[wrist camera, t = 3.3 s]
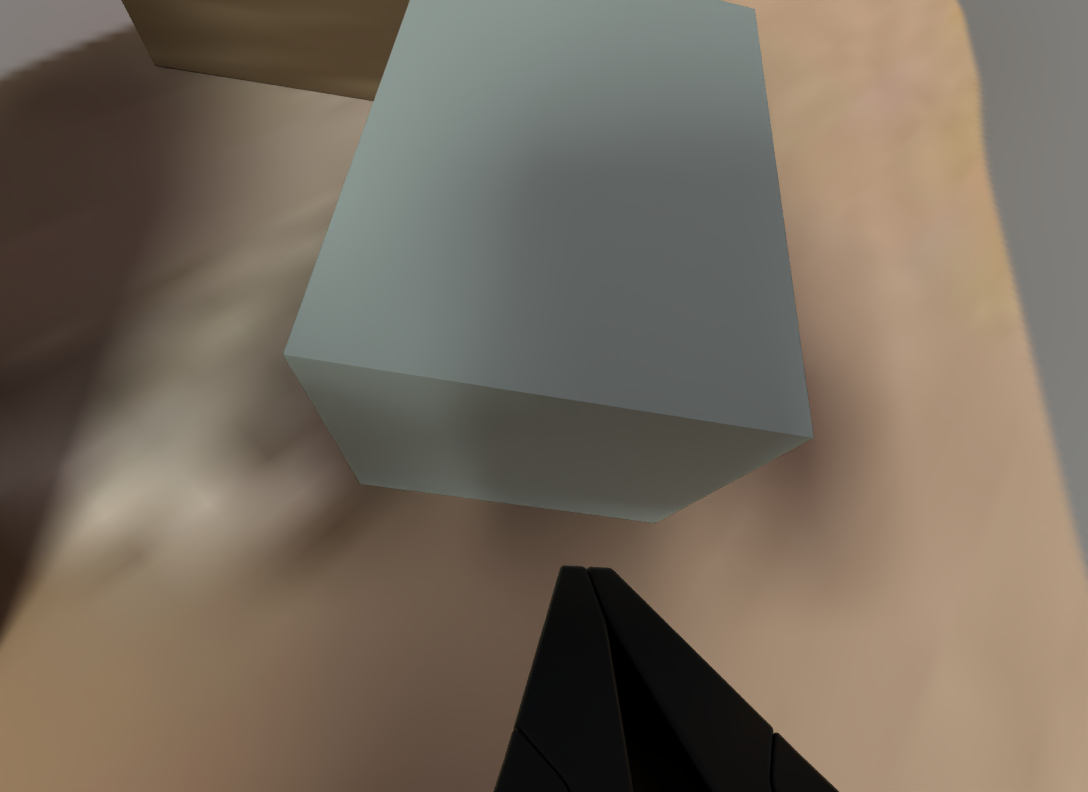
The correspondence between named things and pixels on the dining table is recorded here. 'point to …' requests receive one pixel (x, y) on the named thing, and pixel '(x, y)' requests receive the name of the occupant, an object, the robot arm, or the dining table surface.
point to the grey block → (560, 262)
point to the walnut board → (275, 40)
